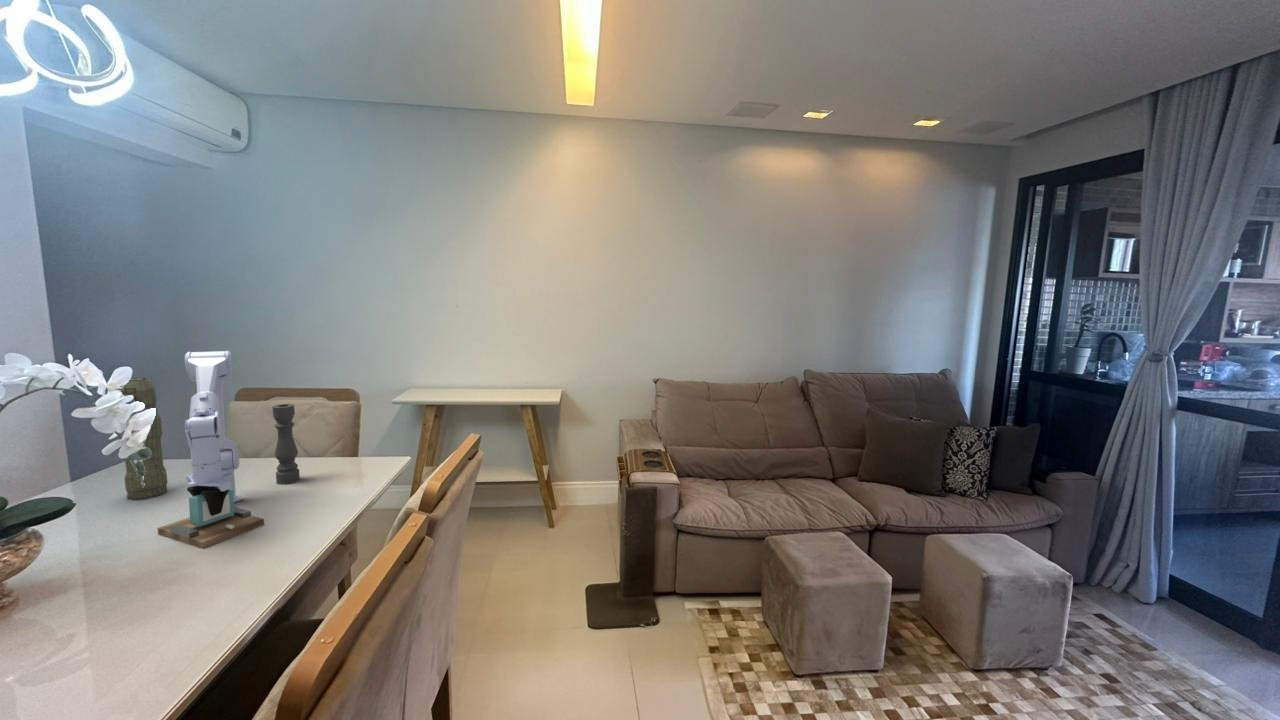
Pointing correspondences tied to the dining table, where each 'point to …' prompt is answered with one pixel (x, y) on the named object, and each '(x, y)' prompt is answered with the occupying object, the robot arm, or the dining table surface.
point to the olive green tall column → (153, 466)
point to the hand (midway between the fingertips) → (210, 512)
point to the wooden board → (211, 529)
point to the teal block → (201, 511)
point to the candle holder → (285, 445)
